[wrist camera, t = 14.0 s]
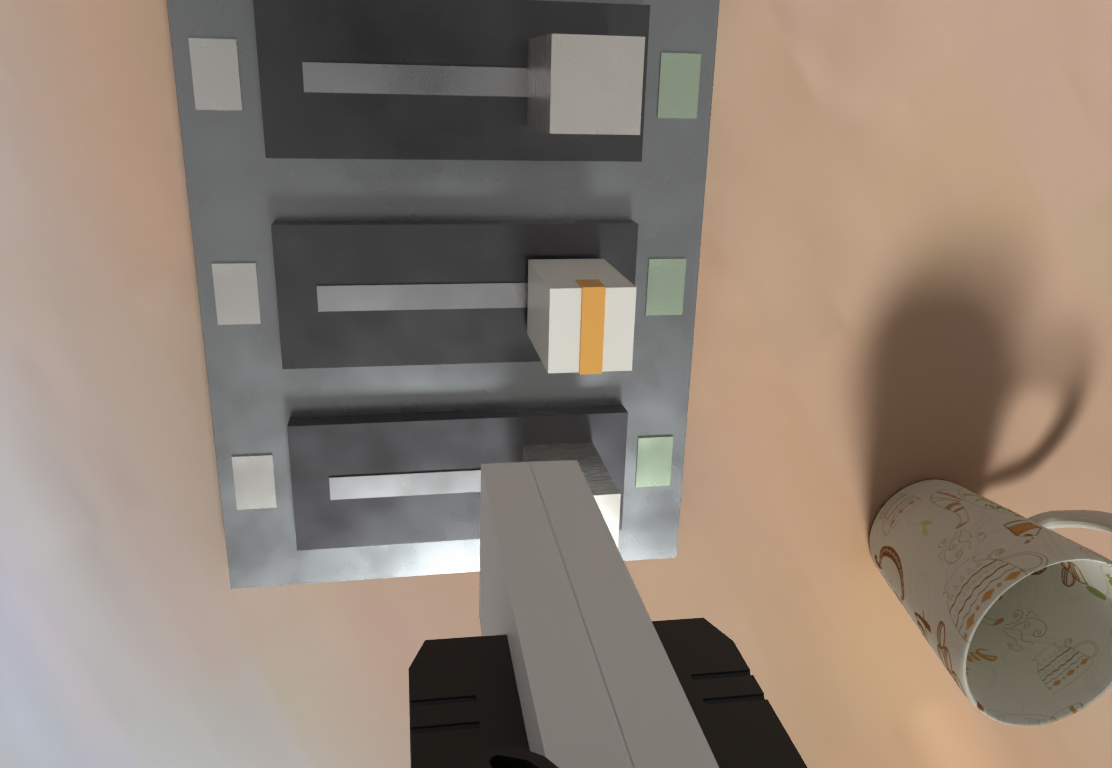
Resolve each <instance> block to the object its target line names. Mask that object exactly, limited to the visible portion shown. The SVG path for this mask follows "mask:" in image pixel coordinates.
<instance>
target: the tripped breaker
mask: <svg viewBox="0 0 1112 768" xmlns="http://www.w3.org/2000/svg"><path fill="white" fill-rule="evenodd" d="M635 305H636V286H634V285H633V284H632V283H631V282H630V281H629V280H628V279H626V278H625V277H624V276H623V275H622V274H621V273H620V272H618V271H617V270H616V269H615V268H614V267H613V266H611V265H610V264H609V263H608V262H607V261H606V260H605V259H528V314H527V334H528V336H529V338H530V340H531V342H532V344H533V346H534V348H535V350H536V351H537V353H538V355H539V357H540V359H541V361H542V363H543V365H544V367H545V368H546V370H547V372H548V373H575V372H578V373H579V374H580V375H583V374H602V372H605V371H632V360H633V341H634V323H635Z"/></svg>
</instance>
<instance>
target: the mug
mask: <svg viewBox="0 0 1112 768" xmlns="http://www.w3.org/2000/svg"><path fill="white" fill-rule="evenodd" d="M1063 527H1081V528H1089V529H1095V530H1100V531H1103V532H1107V533H1110V534H1112V513H1107V512H1101V511H1090V510H1064V511H1049V512H1044V513H1040V514H1038V515H1035V516H1032V517H1030V518H1028V519H1027V518H1025V517H1023V516H1021V515H1019V514H1017V513H1015V512H1013V511H1011V510H1009V509H1007V508H1005V507H1003V506H1001V505H999V504H997V503H995V502H992V501H990V500H988V499H986V498H984V497H982V496H980V495H978V494H976V493H974V492H972V491H970V490H968V489H966V488H964V487H962V486H960V485H957V484H955V483H952V482H949V481H945V480H937V479H934V480H925V481H920V482H917V483H914V484H911V485H909V486H907V487H905V488H903V489H902V490H900V491H899V492H897V493H896V494H895V495H893V496H892V497H891V498H890V499H889V500H888V501H887V502H886V503H885V504H884V506H883V507H882V508H881V510H880V511H879V513H878V514H877V516H876V518H875V520H874V523H873V525H872V528H871V532H870V539H869V546H870V553H871V556H872V559H873V561H874V563H875V565H876V567H877V568H878V570H879V572H880V573H881V575H882V576H883V578H884V579H885V580H886V582H887V583H888V585H889V586H890V588H891V589H892V591H893V592H894V593H895V595H896V596H897V598H898V599H899V601H900V602H901V604H902V605H903V607H904V608H905V609H906V611H907V612H908V614H909V615H910V617H911V618H912V620H913V621H914V622H915V624H916V625H917V627H918V628H919V630H920V631H921V633H922V634H923V636H924V637H925V638H926V640H927V641H928V643H929V644H930V646H931V647H932V649H933V650H934V651H935V653H936V654H937V656H938V657H939V659H940V660H941V662H942V663H943V665H944V666H945V667H946V669H947V670H948V672H949V673H950V675H951V676H952V678H953V679H954V680H955V682H956V683H957V685H958V686H959V688H960V689H961V690H962V692H963V693H964V694H965V696H966V697H967V698H968V699H969V701H970V702H971V703H972V704H973V705H974V706H975V707H976V708H977V709H978V710H979V711H981V712H982V713H983V714H985V715H986V716H988V717H989V718H991V719H993V720H995V721H998V722H1001V723H1004V724H1008V725H1014V726H1035V725H1041V724H1046V723H1050V722H1054V721H1057V720H1060V719H1063V718H1065V717H1067V716H1069V715H1072V714H1074V713H1076V712H1078V711H1079V710H1081V709H1083V708H1084V707H1086V706H1087V705H1089V704H1090V703H1092V702H1093V701H1095V700H1096V699H1097V698H1098V697H1100V696H1101V695H1102V694H1103V693H1104V692H1105V691H1106V690H1107V689H1108V688H1109V687H1110V686H1111V685H1112V561H1111V560H1109V559H1107V558H1105V557H1104V556H1102V555H1100V554H1098V553H1096V552H1094V551H1092V550H1090V549H1088V548H1086V547H1084V546H1082V545H1080V544H1078V543H1076V542H1074V541H1072V540H1070V539H1068V538H1066V537H1064V536H1062V535H1060V534H1057V533H1055V532H1053V531H1051V530H1049V529H1053V528H1063Z"/></svg>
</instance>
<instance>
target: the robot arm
mask: <svg viewBox="0 0 1112 768" xmlns="http://www.w3.org/2000/svg"><path fill="white" fill-rule="evenodd" d="M479 618H480V624H481V631H482V636H479V637H465V638H450V639H436V640H425V642H424V643H423V645H422V647H421V649H420V650H419V652H418V654H417V655H416V657H415V659H414V661H413V662H412V664H411V666H410V667H409V704H410V753H411V768H807V766H806V764H805V763H804V761H803V759H802V758H801V756H800V754H799V753H798V751H797V749H796V747H795V746H794V744H793V742H792V741H791V739H790V737H789V736H788V734H787V732H786V730H785V729H784V727H783V725H782V724H781V722H780V720H779V718H778V717H777V715H776V713H775V712H774V710H773V708H772V707H771V705H770V703H769V701H768V700H765V699H764V693H763V691H762V689H761V688H760V686H759V684H758V683H757V681H756V679H755V678H754V676H753V675H750V669H749V667H748V666H747V664H746V662H745V661H744V659H743V657H742V655H741V654H740V652H739V650H738V649H737V647H736V645H735V643H734V642H733V641H732V640H731V639H730V638H728V637H727V636H726V635H725V634H723V633H722V632H721V631H720V630H718V629H717V628H716V627H714V626H713V625H712V624H711V623H709V622H708V621H707V620H706V619H704V618H694V619H679V620H665V621H651V619H650V617H649V615H648V613H647V610H646V608H645V606H644V604H643V602H642V600H641V597H640V595H639V593H638V591H637V589H636V587H635V584H634V582H633V580H632V578H631V576H630V574H629V571H628V569H627V567H626V565H625V563H624V561H623V559H622V556H621V554H620V552H619V550H618V548H617V546H616V543H615V541H614V539H613V537H612V535H611V533H610V530H609V528H608V526H607V524H606V522H605V520H604V517H603V515H602V513H601V511H600V509H599V507H598V504H597V502H596V500H595V498H594V496H593V494H592V491H591V489H590V487H589V485H588V483H587V481H586V478H585V476H584V474H583V472H582V470H581V468H580V465H579V463H578V461H577V460H566V461H539V462H512V463H486V464H481V502H480V590H479Z"/></svg>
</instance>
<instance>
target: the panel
mask: <svg viewBox="0 0 1112 768" xmlns="http://www.w3.org/2000/svg"><path fill="white" fill-rule="evenodd" d="M719 1H720V0H167V8H168V17H169V26H170V36H171V45H172V54H173V63H174V72H175V81H176V90H177V100H178V109H179V118H180V127H181V136H182V145H183V155H184V164H185V173H186V182H187V191H188V200H189V210H190V219H191V228H192V237H193V246H194V255H195V265H196V274H197V283H198V292H199V301H200V310H201V320H202V329H203V338H204V347H205V356H206V365H207V375H208V384H209V393H210V402H211V411H212V420H213V430H214V439H215V448H216V457H217V466H218V475H219V484H220V494H221V503H222V512H223V521H224V530H225V539H226V549H227V558H228V567H229V576H230V585H231V589H235V588H249V587H263V586H277V585H291V584H306V583H320V582H334V581H348V580H362V579H376V578H390V577H404V576H418V575H433V574H447V573H461V572H475V571H480V502H481V464H486V463H512V462H539V461H566V460H577V461H578V463H579V465H580V468H581V470H582V472H583V474H584V476H585V478H586V481H587V483H588V485H589V487H590V489H591V491H592V494H593V496H594V498H595V500H596V502H597V504H598V507H599V509H600V511H601V513H602V515H603V517H604V520H605V522H606V524H607V526H608V528H609V530H610V533H611V535H612V537H613V539H614V541H615V543H616V546H617V548H618V550H619V552H620V554H621V556H622V559H623V561H630V560H644V559H658V558H672V557H676V553H677V540H678V527H679V515H680V502H681V489H682V476H683V463H684V450H685V438H686V425H687V412H688V399H689V386H690V373H691V360H692V348H693V335H694V322H695V309H696V296H697V283H698V271H699V258H700V245H701V232H702V219H703V206H704V194H705V181H706V168H707V155H708V142H709V129H710V116H711V104H712V91H713V78H714V65H715V52H716V39H717V27H718V14H719ZM528 259H605V260H606V261H607V262H608V263H609V264H610V265H611V266H613V267H614V268H615V269H616V270H617V271H618V272H620V273H621V274H622V275H623V276H624V277H625V278H626V279H628V280H629V281H630V282H631V283H632V284H633V285H634V286H636V305H635V323H634V341H633V360H632V371H605V372H602V374H583V375H580V374H579V373H578V372H575V373H548V372H547V370H546V368H545V367H544V365H543V363H542V361H541V359H540V357H539V355H538V353H537V351H536V350H535V348H534V346H533V344H532V342H531V340H530V338H529V336H528V334H527V314H528Z"/></svg>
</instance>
